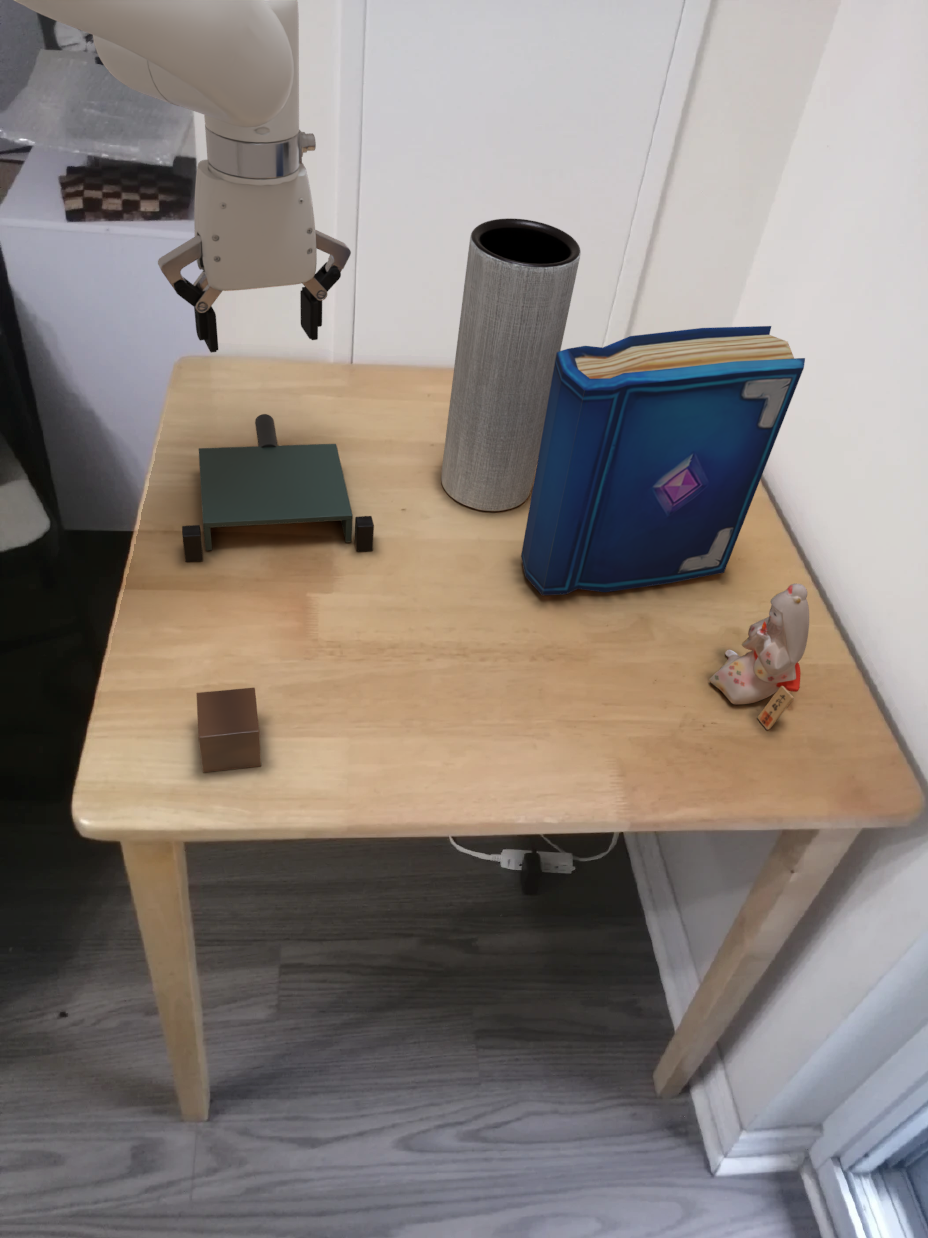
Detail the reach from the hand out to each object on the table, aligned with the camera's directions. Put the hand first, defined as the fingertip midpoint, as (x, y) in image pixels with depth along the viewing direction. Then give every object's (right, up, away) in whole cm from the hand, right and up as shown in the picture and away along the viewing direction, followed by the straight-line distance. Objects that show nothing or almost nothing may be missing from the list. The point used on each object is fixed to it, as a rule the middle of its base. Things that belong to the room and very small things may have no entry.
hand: (260, 338), depth 90 cm
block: (+1, -37, -15) cm, 40 cm away
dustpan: (0, -14, +7) cm, 15 cm away
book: (+35, -22, +6) cm, 42 cm away
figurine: (+45, -33, -4) cm, 57 cm away
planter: (+22, -12, +13) cm, 28 cm away
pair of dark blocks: (+2, -20, +1) cm, 20 cm away
